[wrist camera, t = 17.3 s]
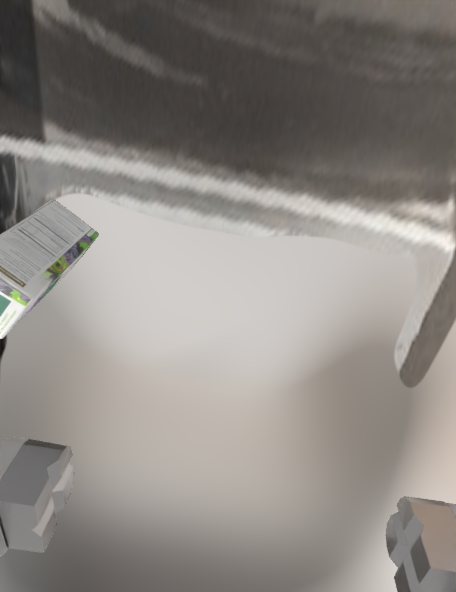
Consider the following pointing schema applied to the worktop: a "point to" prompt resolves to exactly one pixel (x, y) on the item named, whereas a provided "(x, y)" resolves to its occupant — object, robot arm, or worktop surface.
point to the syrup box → (38, 258)
